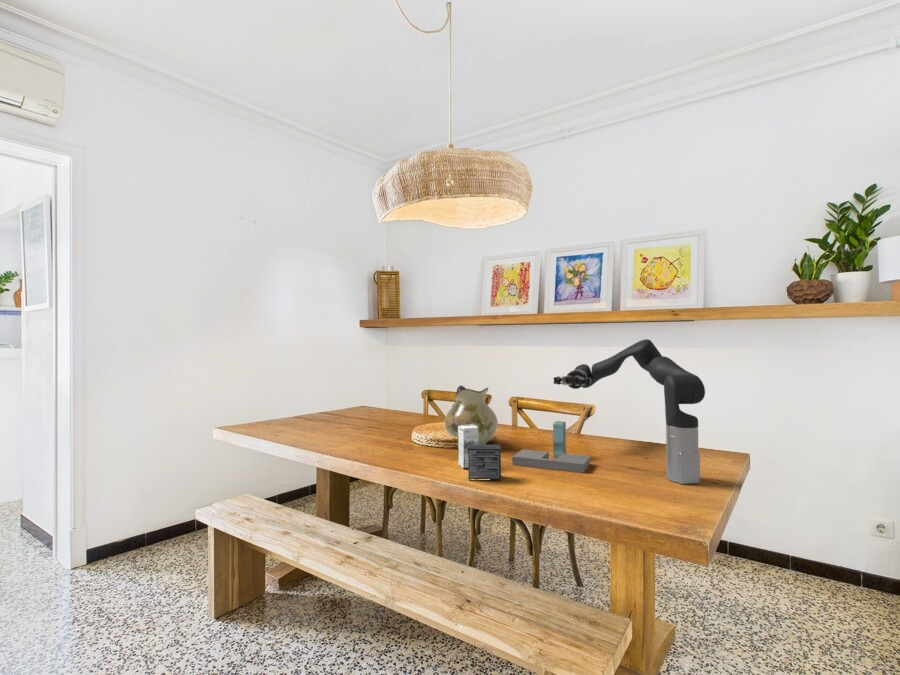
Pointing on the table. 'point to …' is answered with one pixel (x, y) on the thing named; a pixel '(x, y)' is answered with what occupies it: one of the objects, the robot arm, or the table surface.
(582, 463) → the slotted block
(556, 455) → the mint green pillar
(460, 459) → the syrup box
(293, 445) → the table surface
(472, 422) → the pitcher
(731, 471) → the table surface
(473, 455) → the small box
